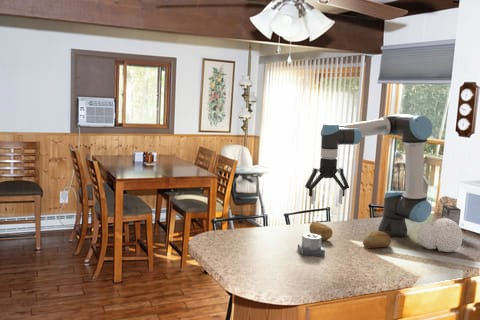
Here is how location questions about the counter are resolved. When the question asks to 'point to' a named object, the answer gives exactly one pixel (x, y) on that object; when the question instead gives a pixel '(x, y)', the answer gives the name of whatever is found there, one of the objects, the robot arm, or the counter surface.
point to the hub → (311, 242)
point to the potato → (321, 230)
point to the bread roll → (376, 239)
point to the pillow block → (311, 253)
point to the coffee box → (451, 213)
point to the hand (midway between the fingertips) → (326, 203)
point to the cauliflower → (441, 235)
